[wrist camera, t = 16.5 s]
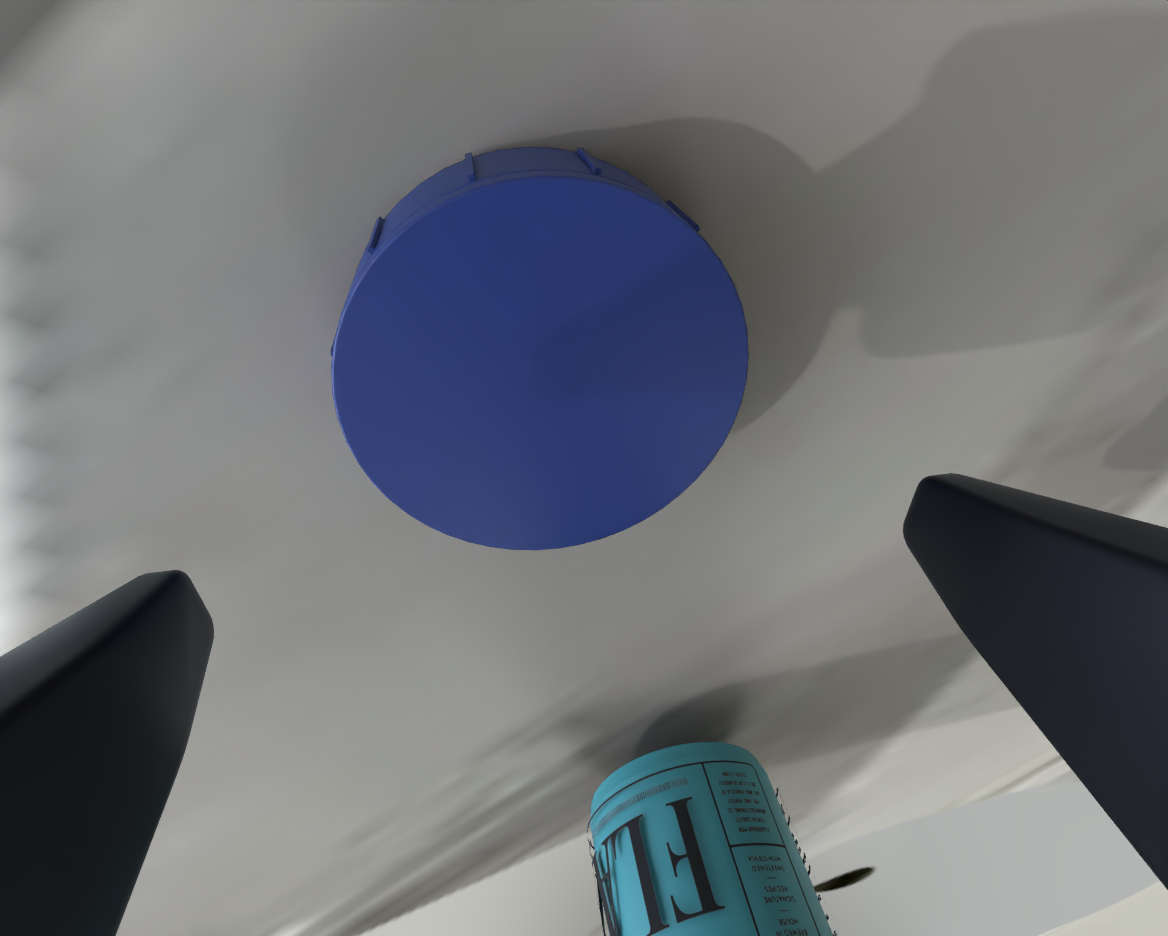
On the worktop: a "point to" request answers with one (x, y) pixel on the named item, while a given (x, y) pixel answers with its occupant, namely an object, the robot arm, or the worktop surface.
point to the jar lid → (537, 351)
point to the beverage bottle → (699, 849)
